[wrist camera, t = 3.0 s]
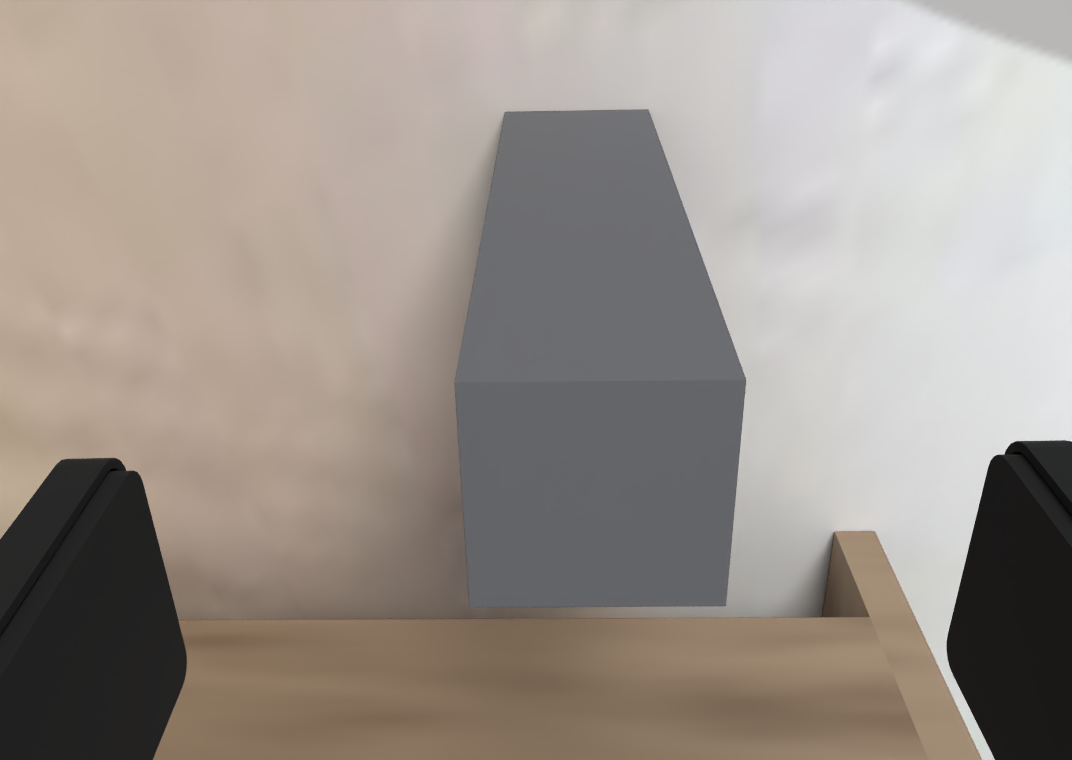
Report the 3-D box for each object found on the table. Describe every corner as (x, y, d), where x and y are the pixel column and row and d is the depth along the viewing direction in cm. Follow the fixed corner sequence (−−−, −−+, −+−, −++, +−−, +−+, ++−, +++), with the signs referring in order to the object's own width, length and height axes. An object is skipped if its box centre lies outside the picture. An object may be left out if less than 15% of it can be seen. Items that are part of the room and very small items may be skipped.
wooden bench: (860, 700, 33) (982, 1041, 24) (122, 702, 34) (-46, 1034, 24) (891, 531, 30) (1047, 847, 21) (74, 536, 31) (-143, 846, 21)
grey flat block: (635, 505, 30) (693, 970, 17) (518, 506, 30) (493, 969, 18) (648, 109, 24) (745, 380, 12) (504, 112, 24) (454, 383, 12)
